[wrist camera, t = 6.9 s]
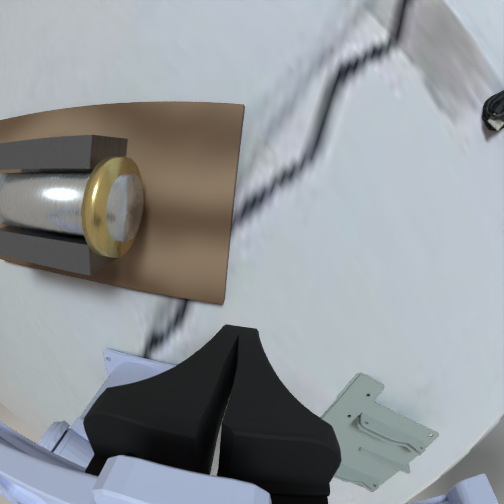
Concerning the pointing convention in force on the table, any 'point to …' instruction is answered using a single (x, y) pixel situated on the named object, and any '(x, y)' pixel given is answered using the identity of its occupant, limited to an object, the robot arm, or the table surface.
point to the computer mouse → (494, 112)
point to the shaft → (78, 203)
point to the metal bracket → (373, 435)
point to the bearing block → (56, 160)
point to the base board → (162, 189)
